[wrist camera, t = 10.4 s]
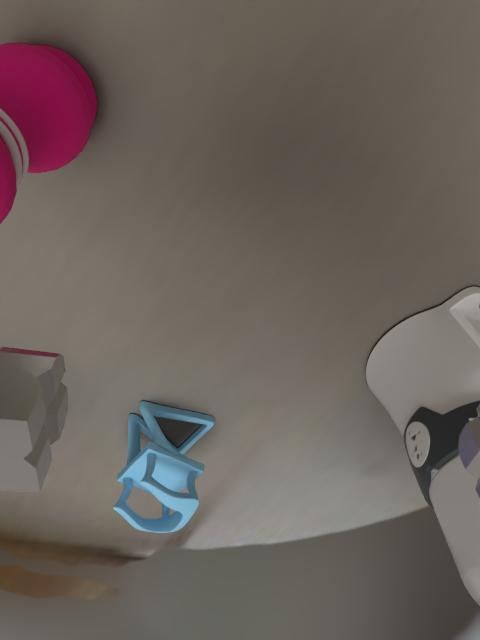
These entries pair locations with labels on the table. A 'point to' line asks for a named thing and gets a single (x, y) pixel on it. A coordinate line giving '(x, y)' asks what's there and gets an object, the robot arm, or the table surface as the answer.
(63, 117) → the pepper mill
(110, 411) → the table surface
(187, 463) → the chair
